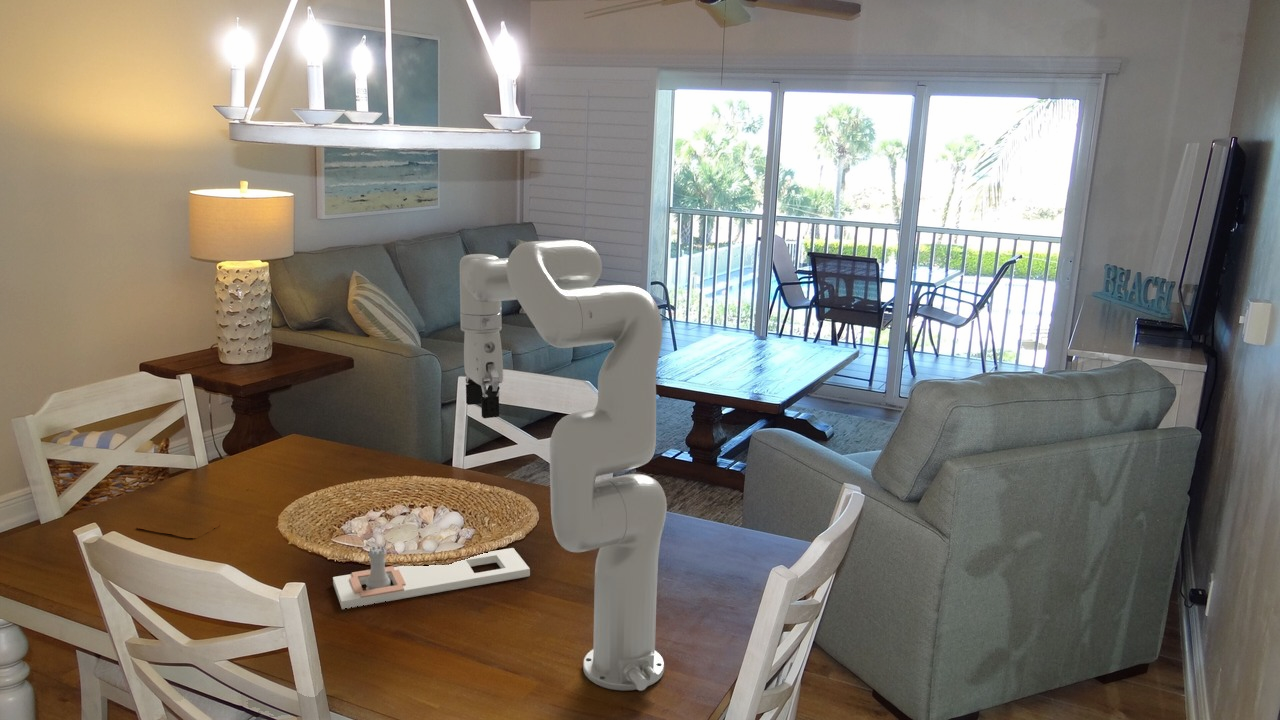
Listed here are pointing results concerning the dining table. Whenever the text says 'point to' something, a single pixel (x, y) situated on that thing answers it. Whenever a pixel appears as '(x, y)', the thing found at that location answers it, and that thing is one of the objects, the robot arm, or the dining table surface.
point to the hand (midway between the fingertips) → (482, 410)
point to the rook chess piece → (377, 569)
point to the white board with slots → (429, 578)
